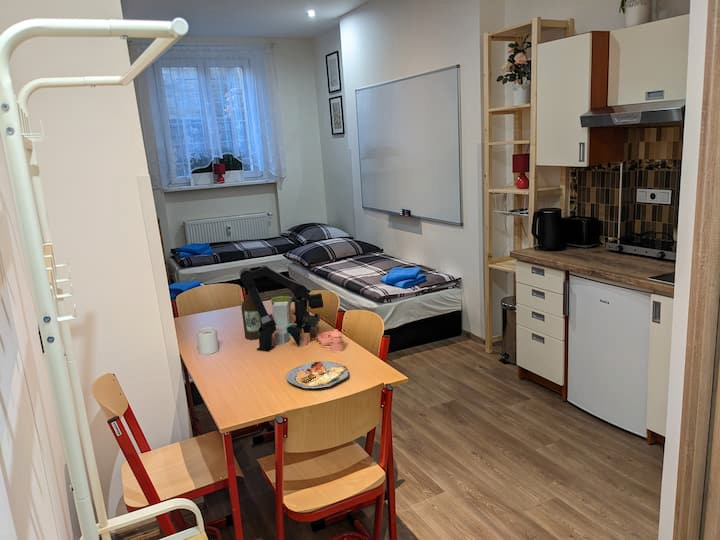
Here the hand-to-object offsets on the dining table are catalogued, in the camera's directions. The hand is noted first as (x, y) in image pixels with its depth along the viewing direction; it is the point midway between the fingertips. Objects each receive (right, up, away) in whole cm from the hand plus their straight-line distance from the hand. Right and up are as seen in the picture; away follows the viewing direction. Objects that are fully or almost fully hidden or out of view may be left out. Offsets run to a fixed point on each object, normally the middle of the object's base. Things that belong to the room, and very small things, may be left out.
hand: (302, 341), depth 259 cm
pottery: (+14, -2, -3) cm, 15 cm away
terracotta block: (0, -1, 0) cm, 1 cm away
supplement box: (-13, +4, +26) cm, 30 cm away
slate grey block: (-10, -1, +4) cm, 11 cm away
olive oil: (-25, +1, +13) cm, 28 cm away
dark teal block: (-6, +2, +14) cm, 16 cm away
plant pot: (-15, +7, +39) cm, 43 cm away
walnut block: (+4, +1, +10) cm, 11 cm away
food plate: (+10, -10, -38) cm, 40 cm away
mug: (-43, -4, -3) cm, 43 cm away
